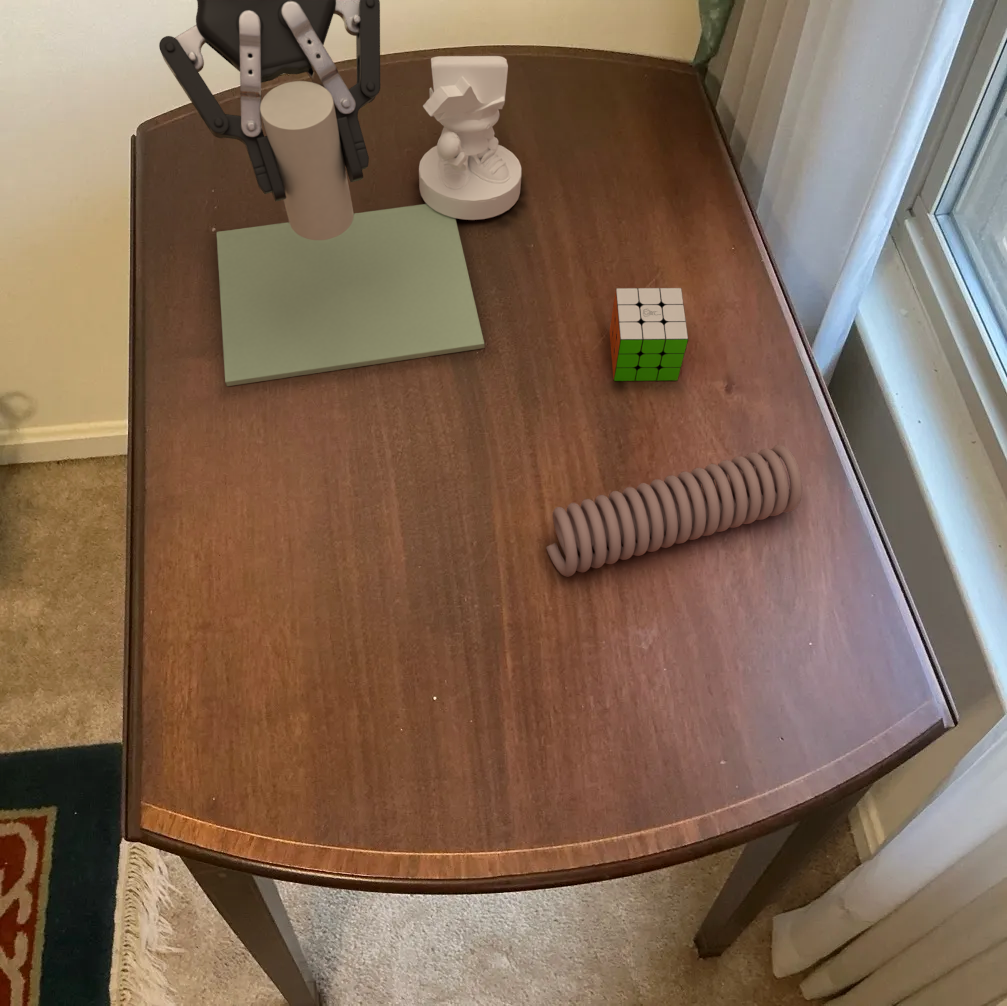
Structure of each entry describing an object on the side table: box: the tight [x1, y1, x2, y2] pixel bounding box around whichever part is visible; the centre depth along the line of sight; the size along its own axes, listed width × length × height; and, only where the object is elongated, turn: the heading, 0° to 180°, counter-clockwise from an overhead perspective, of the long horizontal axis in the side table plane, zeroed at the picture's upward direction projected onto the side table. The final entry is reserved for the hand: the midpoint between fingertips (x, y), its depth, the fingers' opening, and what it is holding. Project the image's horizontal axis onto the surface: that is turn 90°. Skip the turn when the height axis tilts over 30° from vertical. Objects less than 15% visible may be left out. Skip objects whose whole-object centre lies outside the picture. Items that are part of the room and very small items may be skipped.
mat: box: [216, 203, 485, 387], centre depth 78 cm, size 20×16×1 cm
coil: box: [545, 444, 803, 577], centre depth 65 cm, size 5×5×18 cm
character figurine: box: [418, 55, 522, 221], centre depth 79 cm, size 9×10×12 cm
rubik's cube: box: [608, 287, 689, 382], centre depth 73 cm, size 5×5×5 cm
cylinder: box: [260, 80, 355, 240], centre depth 62 cm, size 4×4×9 cm
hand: (319, 188), depth 61 cm, fingers closed on cylinder, 4 cm apart
